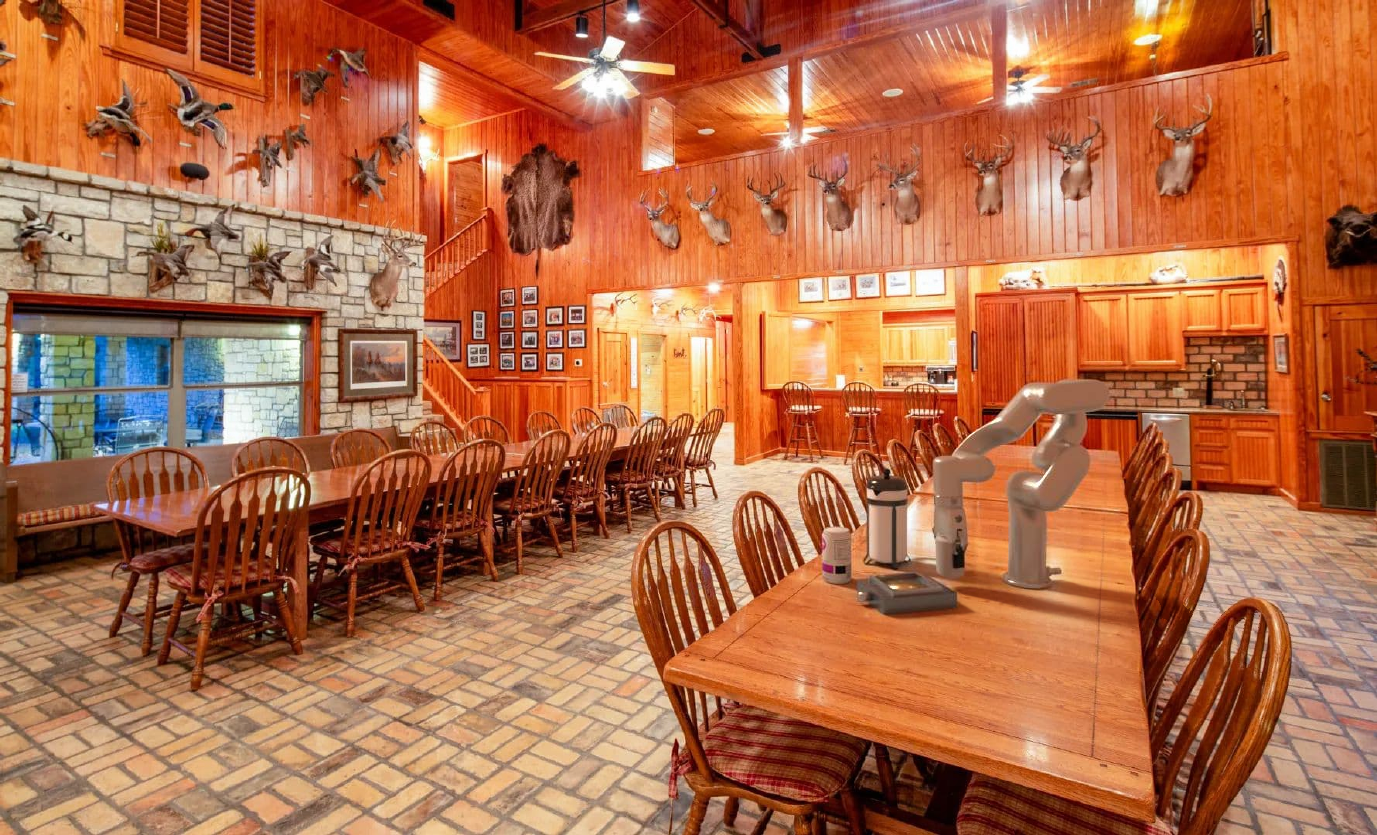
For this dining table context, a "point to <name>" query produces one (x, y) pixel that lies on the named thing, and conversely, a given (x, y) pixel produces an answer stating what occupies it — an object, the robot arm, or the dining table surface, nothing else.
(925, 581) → the gearbox
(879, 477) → the coffee press
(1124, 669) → the dining table surface
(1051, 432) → the robot arm
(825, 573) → the supplement can
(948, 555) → the can
